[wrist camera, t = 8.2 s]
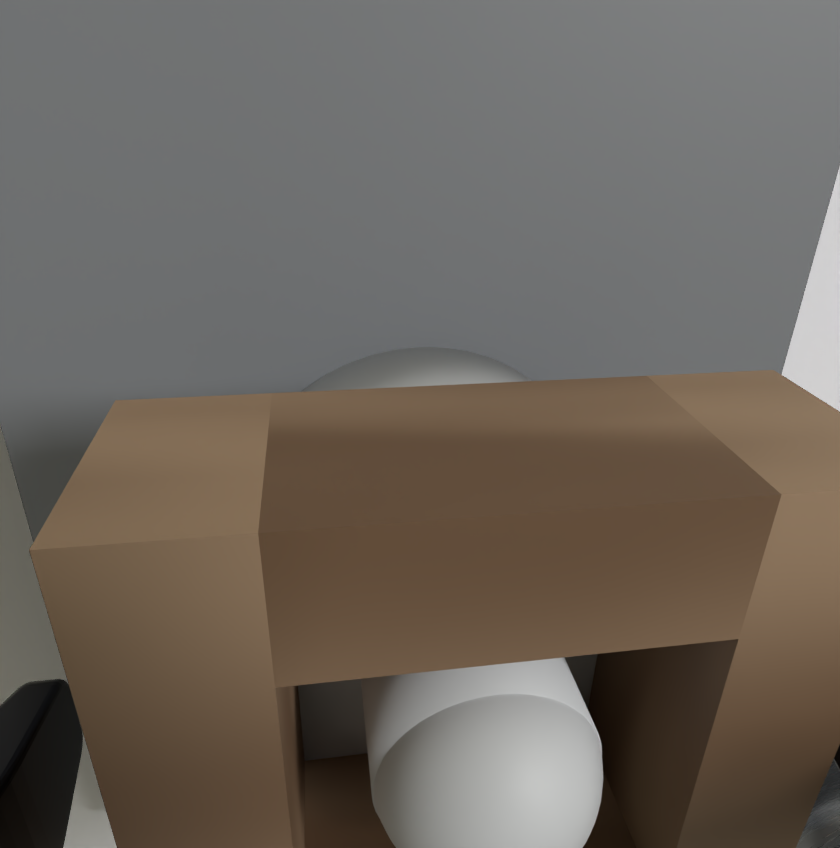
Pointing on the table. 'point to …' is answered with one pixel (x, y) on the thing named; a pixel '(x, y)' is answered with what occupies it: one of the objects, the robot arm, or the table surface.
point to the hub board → (405, 265)
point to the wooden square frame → (455, 593)
